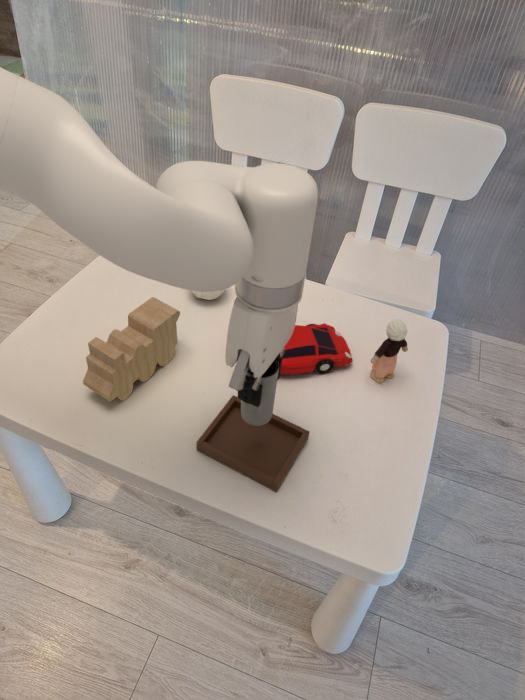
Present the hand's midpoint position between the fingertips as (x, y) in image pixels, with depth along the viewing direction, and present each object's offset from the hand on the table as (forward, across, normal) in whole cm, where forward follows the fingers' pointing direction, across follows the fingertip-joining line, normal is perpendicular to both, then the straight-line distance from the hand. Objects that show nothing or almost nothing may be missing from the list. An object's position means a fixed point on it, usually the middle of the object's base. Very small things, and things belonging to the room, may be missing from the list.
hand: (258, 387), depth 70 cm
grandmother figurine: (+14, -24, +12) cm, 30 cm away
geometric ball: (+14, -26, -25) cm, 39 cm away
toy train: (+14, -2, -24) cm, 28 cm away
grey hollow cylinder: (+6, 0, 0) cm, 6 cm away
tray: (+14, 0, 0) cm, 14 cm away
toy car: (+14, -20, -3) cm, 24 cm away
